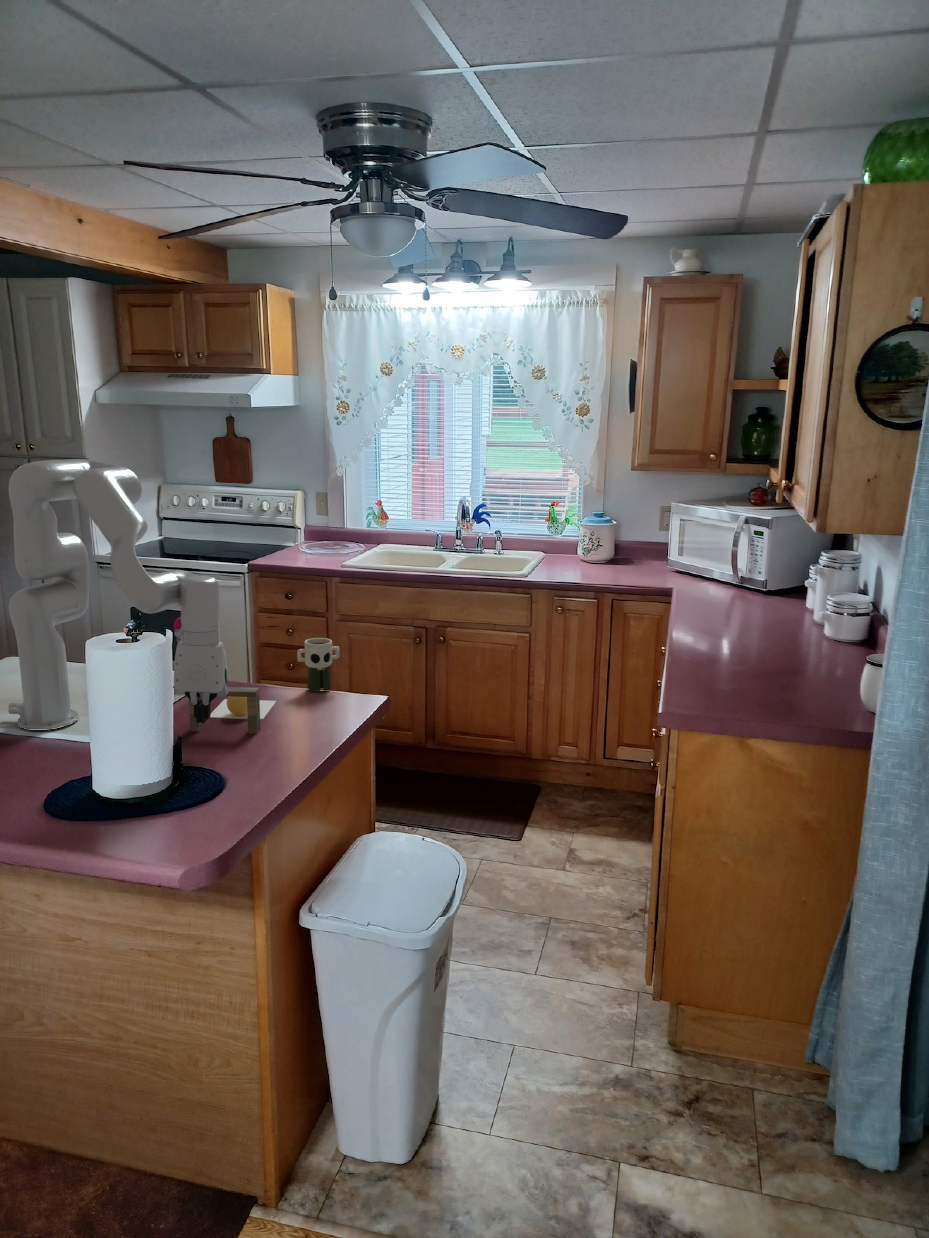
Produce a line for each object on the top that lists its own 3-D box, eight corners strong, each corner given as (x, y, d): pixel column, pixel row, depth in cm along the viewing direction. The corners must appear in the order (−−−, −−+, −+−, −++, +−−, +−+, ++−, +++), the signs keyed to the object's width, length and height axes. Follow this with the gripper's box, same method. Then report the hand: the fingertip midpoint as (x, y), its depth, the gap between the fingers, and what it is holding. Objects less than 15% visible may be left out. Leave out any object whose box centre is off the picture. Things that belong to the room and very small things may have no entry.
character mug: (301, 695, 223) (300, 646, 220) (295, 687, 230) (294, 639, 227) (343, 691, 227) (342, 642, 224) (336, 683, 234) (335, 636, 231)
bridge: (257, 733, 197) (255, 692, 195) (190, 731, 197) (188, 689, 195) (260, 728, 200) (259, 687, 198) (195, 726, 200) (192, 685, 198)
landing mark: (207, 717, 206) (207, 716, 206) (224, 699, 219) (224, 699, 219) (263, 719, 206) (263, 718, 206) (276, 701, 218) (276, 700, 218)
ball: (225, 687, 206) (234, 690, 212) (220, 712, 205) (230, 715, 211) (249, 690, 205) (258, 693, 211) (245, 715, 204) (254, 718, 210)
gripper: (157, 639, 177) (160, 725, 181) (231, 643, 176) (232, 729, 181) (171, 629, 184) (173, 712, 189) (242, 634, 184) (242, 717, 188)
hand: (202, 720), depth 185 cm, fingers closed
